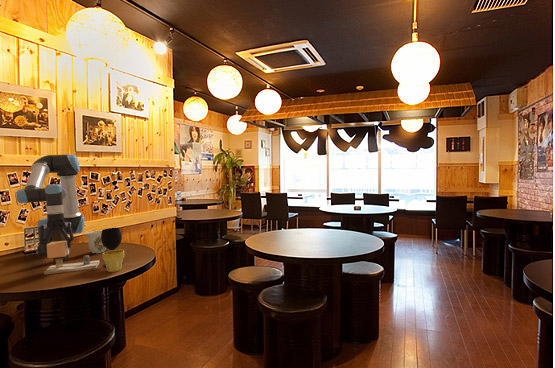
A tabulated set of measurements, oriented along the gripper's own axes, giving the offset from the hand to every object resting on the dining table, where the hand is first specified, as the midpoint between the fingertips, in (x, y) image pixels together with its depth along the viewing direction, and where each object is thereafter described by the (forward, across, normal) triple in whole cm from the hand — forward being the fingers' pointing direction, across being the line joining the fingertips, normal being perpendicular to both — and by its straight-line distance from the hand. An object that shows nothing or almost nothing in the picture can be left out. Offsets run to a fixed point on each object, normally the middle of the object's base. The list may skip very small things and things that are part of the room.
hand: (58, 255), depth 181 cm
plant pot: (+9, +28, -14) cm, 33 cm away
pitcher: (+8, +14, +35) cm, 39 cm away
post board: (+8, +6, 0) cm, 11 cm away
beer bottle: (+8, -4, +22) cm, 24 cm away
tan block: (0, 0, 0) cm, 0 cm away
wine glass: (+8, +26, -2) cm, 28 cm away
